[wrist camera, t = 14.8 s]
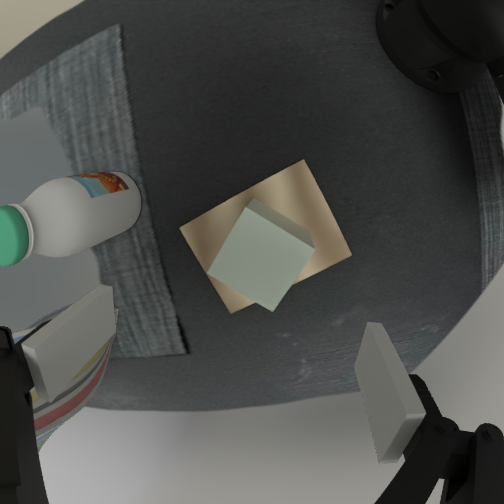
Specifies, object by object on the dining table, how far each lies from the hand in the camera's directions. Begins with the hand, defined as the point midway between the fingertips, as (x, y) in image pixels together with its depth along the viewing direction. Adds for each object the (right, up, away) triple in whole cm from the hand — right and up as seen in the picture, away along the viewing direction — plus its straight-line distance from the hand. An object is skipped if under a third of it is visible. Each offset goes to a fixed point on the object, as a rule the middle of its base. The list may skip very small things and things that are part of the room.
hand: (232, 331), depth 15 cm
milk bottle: (-16, +10, +22) cm, 29 cm away
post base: (+2, +5, +21) cm, 22 cm away
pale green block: (+2, +5, +20) cm, 21 cm away
